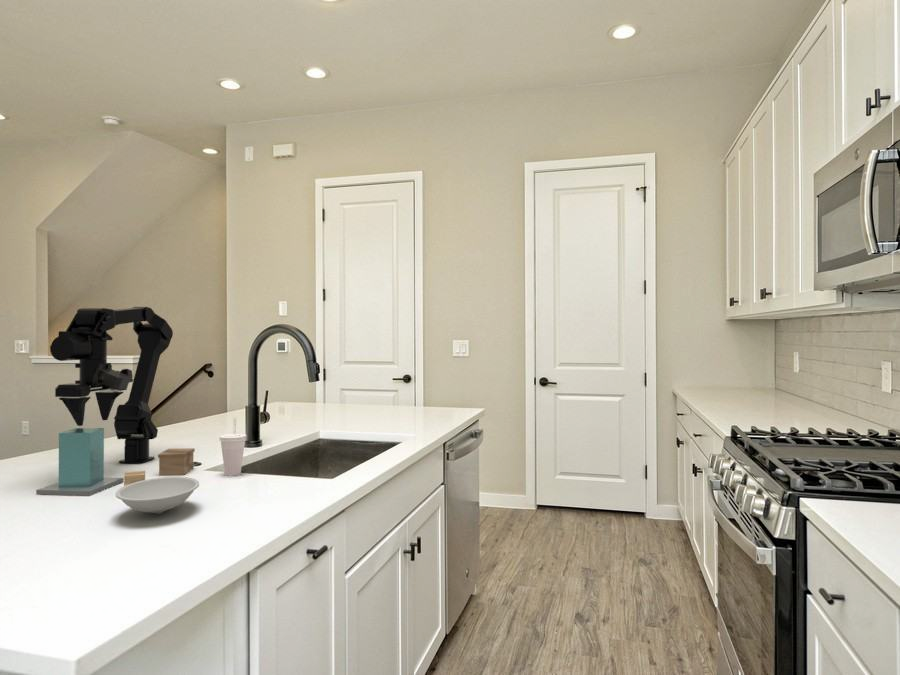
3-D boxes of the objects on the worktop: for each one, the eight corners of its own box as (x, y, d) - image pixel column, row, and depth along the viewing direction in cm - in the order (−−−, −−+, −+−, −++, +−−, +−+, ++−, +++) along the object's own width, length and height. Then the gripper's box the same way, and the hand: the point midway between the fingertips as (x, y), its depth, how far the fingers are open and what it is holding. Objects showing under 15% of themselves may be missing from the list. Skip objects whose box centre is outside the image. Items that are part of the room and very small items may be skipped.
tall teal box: (73, 480, 136) (74, 428, 136) (103, 479, 137) (103, 428, 137) (58, 487, 130) (58, 433, 130) (90, 486, 131) (90, 432, 131)
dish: (137, 501, 124) (137, 477, 124) (209, 499, 126) (209, 475, 126) (99, 528, 106) (99, 501, 106) (183, 525, 108) (183, 498, 108)
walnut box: (168, 468, 153) (168, 448, 153) (194, 468, 154) (194, 448, 154) (157, 475, 146) (158, 454, 146) (185, 475, 147) (185, 454, 147)
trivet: (74, 480, 140) (74, 476, 140) (123, 482, 139) (123, 477, 139) (36, 494, 128) (36, 489, 128) (89, 495, 127) (89, 491, 127)
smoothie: (251, 472, 150) (252, 417, 149) (232, 478, 144) (233, 420, 144) (232, 470, 152) (233, 415, 152) (213, 475, 146) (213, 419, 146)
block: (125, 489, 133) (125, 472, 133) (145, 488, 135) (145, 470, 135) (124, 494, 129) (124, 476, 129) (144, 492, 131) (144, 474, 131)
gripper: (100, 361, 135) (99, 429, 135) (146, 358, 154) (146, 418, 154) (53, 360, 136) (53, 428, 136) (105, 357, 154) (105, 417, 154)
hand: (92, 422), depth 145 cm, fingers open, 9 cm apart
